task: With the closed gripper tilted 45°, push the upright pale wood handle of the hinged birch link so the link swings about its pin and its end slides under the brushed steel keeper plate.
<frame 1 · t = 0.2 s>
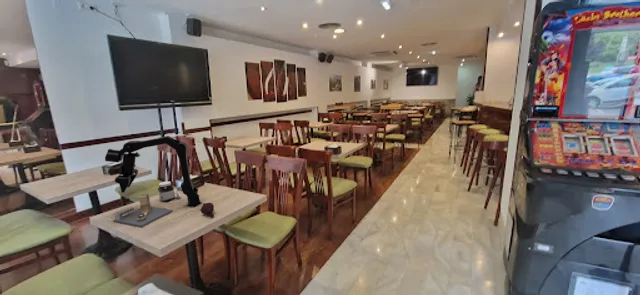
hand: (125, 189, 149), 16 cm above the table, tool pointing down, fingers open, 9 cm apart
link: (143, 205, 148), point 7 cm above the table, hinge at 0.0°
base board: (144, 216, 150), on the table
icecream: (208, 214, 151), on the table
spread jar: (171, 199, 175), on the table
keeper: (142, 221, 144), resting on base board
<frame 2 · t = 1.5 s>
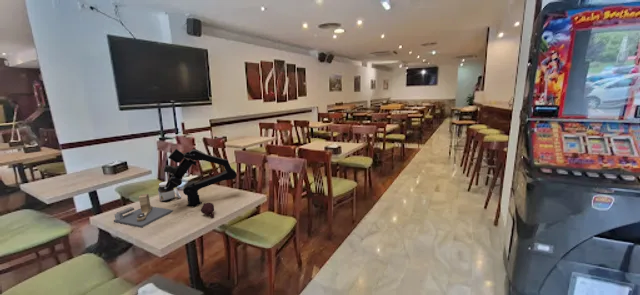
hand: (166, 188, 155), 14 cm above the table, tool tilted 45°, fingers open, 9 cm apart
nothing on the table moved.
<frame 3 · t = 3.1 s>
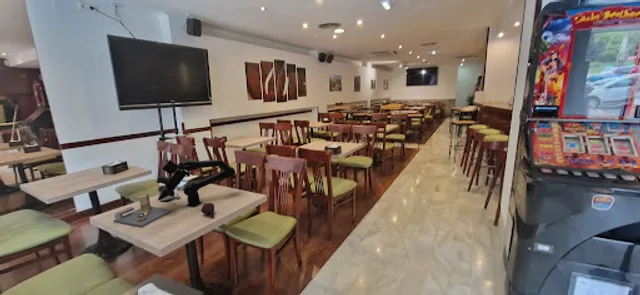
hand: (158, 199, 154), 8 cm above the table, tool tilted 45°, fingers closed
nothing on the table moved.
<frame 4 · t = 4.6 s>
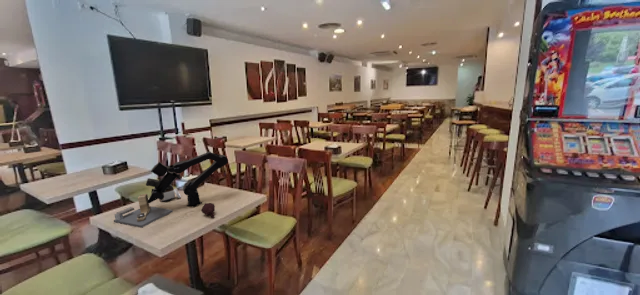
hand: (148, 202, 151), 7 cm above the table, tool tilted 45°, fingers closed, pressing on link
link: (142, 206, 148), point 7 cm above the table, hinge at 3.4°, touching gripper
everything else where it was.
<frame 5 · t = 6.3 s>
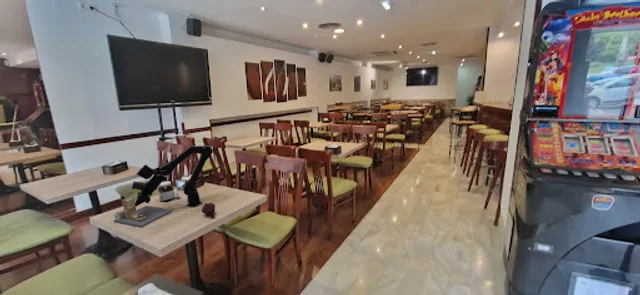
hand: (134, 206, 148), 7 cm above the table, tool tilted 45°, fingers closed
link: (132, 208, 145), point 7 cm above the table, hinge at 49.6°, touching gripper
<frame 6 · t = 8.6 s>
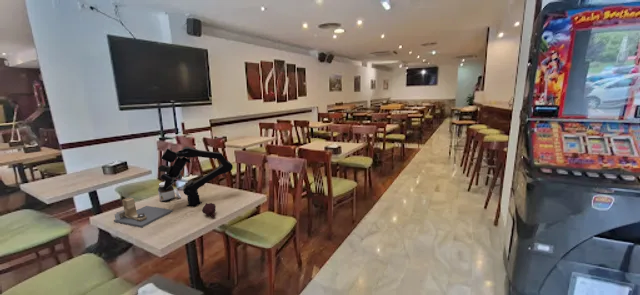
hand: (164, 189, 155), 13 cm above the table, tool tilted 35°, fingers closed
link: (132, 208, 145), point 7 cm above the table, hinge at 49.6°
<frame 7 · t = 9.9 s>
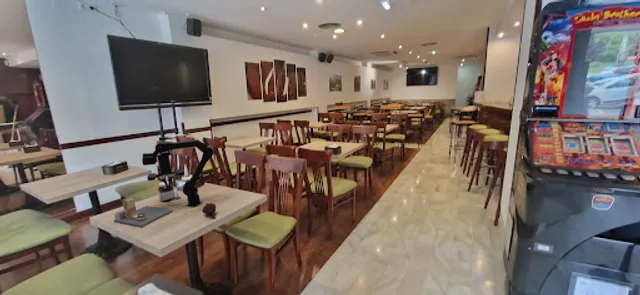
hand: (168, 188, 157), 13 cm above the table, tool pointing down, fingers closed
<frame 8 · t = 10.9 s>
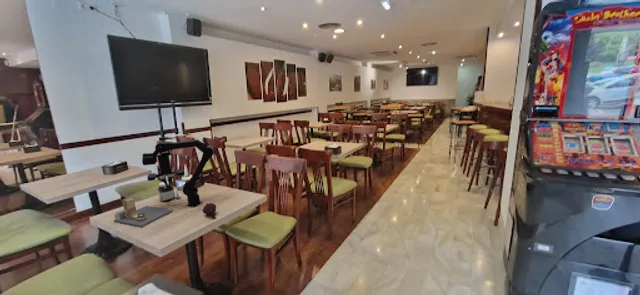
hand: (168, 188, 157), 13 cm above the table, tool pointing down, fingers closed
at the end: link at +50° (first picture: +0°) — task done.
